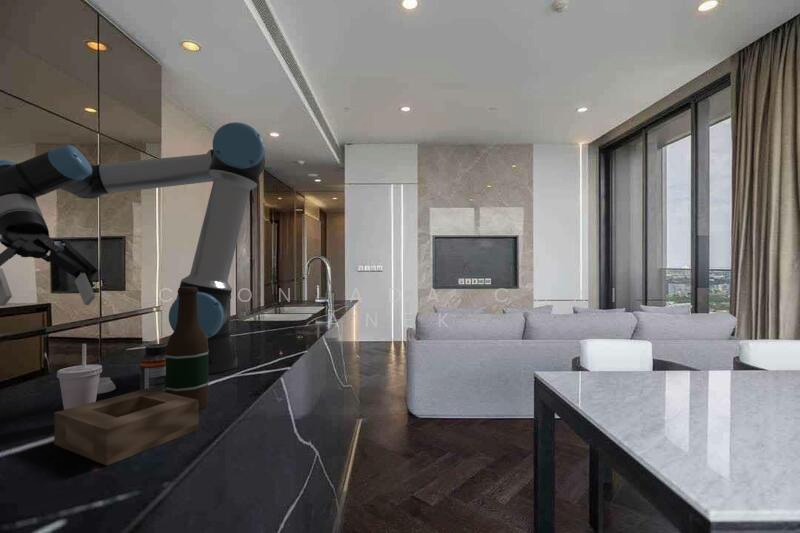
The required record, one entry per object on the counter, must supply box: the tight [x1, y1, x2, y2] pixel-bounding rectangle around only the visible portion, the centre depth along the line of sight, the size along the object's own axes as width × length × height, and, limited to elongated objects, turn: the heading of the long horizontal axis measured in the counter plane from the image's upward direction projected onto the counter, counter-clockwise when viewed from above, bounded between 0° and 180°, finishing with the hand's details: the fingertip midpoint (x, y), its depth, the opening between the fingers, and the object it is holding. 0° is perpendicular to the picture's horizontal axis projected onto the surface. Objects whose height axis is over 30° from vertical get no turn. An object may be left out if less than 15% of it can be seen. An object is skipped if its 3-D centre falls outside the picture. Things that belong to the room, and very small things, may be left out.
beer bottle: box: [166, 286, 209, 411], centre depth 78 cm, size 8×8×24 cm
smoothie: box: [56, 343, 103, 410], centre depth 70 cm, size 6×6×14 cm
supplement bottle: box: [139, 343, 168, 393], centre depth 84 cm, size 6×6×11 cm
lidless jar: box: [97, 376, 116, 395], centre depth 89 cm, size 5×3×5 cm
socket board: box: [53, 389, 200, 466], centre depth 64 cm, size 14×15×5 cm
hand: (51, 301), depth 76 cm, fingers open, 13 cm apart
